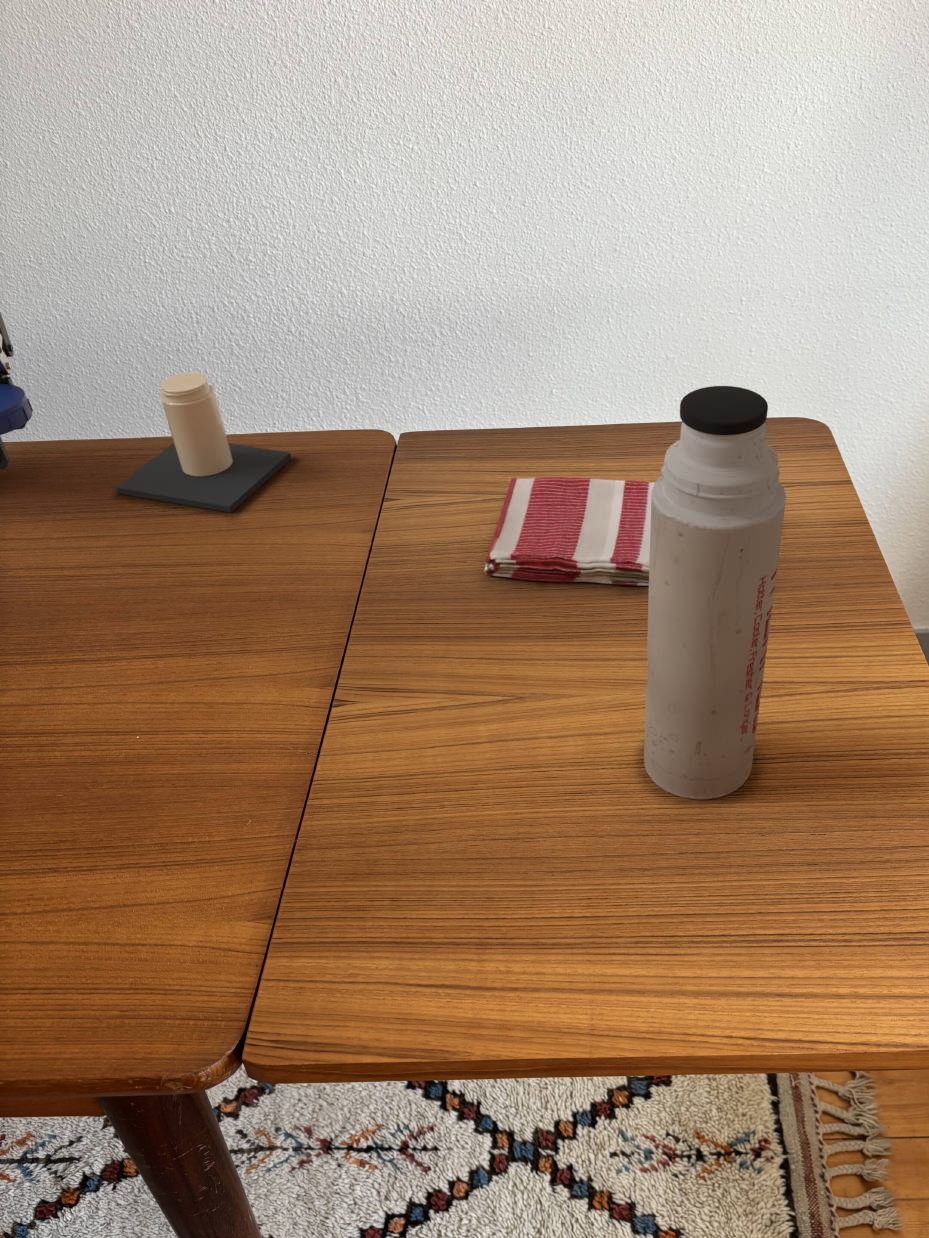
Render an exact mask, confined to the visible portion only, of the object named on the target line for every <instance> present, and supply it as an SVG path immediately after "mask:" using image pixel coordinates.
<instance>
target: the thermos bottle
mask: <svg viewBox="0 0 929 1238" xmlns="http://www.w3.org/2000/svg"><path fill="white" fill-rule="evenodd" d="M768 410H769V405H768V401H767V400H766V398H765V397H763V395H761V394H759V393H757V392H755V391H753V390H751V389H748V388H744V387H739V386H732V385H711V386H705V387H701V388H698V389H694V390H692V391H690V392H688V393H687V394H685V395H684V396H683V398H682V399H681V400H680V403H679V418H680V420H681V422H682V423H681V426H680V435H679V439H678V440H676V441H675V442H673V444H671V445H670V446H669V447H668V448H667V450H666V451H665V455H664V461H663V465H662V466H660V471H661V475H660V476H659V477H658V478H657V479H656V481H655V484H654V486H653V489H652V494H651V528H650V562H649V586H648V597H647V598H648V600H647V601H648V603H647V604H648V605H647V633H646V634H647V636H646V653H647V655H646V656H647V657H646V658H647V660H646V661H647V677H646V686H645V687H646V688H645V700H644V701H645V707H644V736H643V737H644V739H643V741H644V742H643V765H644V768H645V771H646V773H647V774H648V776H649V778H650V779H651V781H652V782H653V783H654V784H655V785H657V786H658V787H659V788H660V789H662V790H664V791H665V792H667V793H669V794H672V795H674V796H677V797H681V798H684V799H692V800H711V799H718V798H721V797H724V796H727V795H729V794H731V793H734V792H736V791H737V790H738V789H739V788H741V787H742V786H743V785H744V784H745V782H746V781H747V780H748V779H749V777H750V775H751V772H752V768H753V762H754V761H753V760H754V751H755V746H756V745H755V744H756V737H757V729H758V721H759V714H760V713H759V712H760V706H761V698H762V697H761V696H762V691H763V682H764V674H765V667H766V657H767V652H768V651H767V650H768V642H769V635H770V627H771V620H772V613H773V612H772V611H773V605H774V603H773V602H774V595H775V589H776V588H775V587H776V580H777V573H778V572H777V571H778V566H779V565H778V564H779V557H780V556H779V555H780V548H781V539H782V532H783V524H784V517H785V508H786V501H787V494H786V489H785V487H784V485H782V483H781V481H779V479H780V473H781V472H780V469H779V458H778V454H777V452H776V451H775V449H774V448H773V447H772V446H770V445H769V443H767V442H766V438H767V426H766V423H765V422H766V421H767V418H768V417H767V416H768Z"/></svg>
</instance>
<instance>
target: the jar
mask: <svg viewBox="0 0 929 1238" xmlns="http://www.w3.org/2000/svg"><path fill="white" fill-rule="evenodd" d="M159 400H160V403H161V406H162V409H163V412H164V416H165V419H166V422H167V426H168V428H169V431H170V435H171V438H172V442H173V443H174V445H175V448H176V452H177V455H178V458H179V461H180V465H181V468H182V470H183V472H184V473H186V474H188V475H191V476H210V475H214V474H217V473H220V472H222V471H224V470H226V469H227V468H229V467H230V466H231V465H232V462H233V458H232V454H231V451H230V447H229V440H228V436H227V432H226V429H225V424H224V422H223V418H222V414H221V411H220V407H219V403H218V399H217V396H216V392H215V388H214V387H213V386H212V385H211V384H209V381H208V377H207V376H206V375H205V374H203V373H200V372H188V371H187V372H181V373H176V374H173V375H170V376H168V377H166V378H164V379H162V381H161V383H160V396H159Z"/></svg>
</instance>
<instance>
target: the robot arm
mask: <svg viewBox="0 0 929 1238" xmlns="http://www.w3.org/2000/svg"><path fill="white" fill-rule="evenodd" d="M13 357H14V346H13V344H12V342H11V338H10V336H9V333H8V329H7V328H6V324H5V322H4V319H3V316H2V313H1V311H0V384H10V385H14V382H13V380H12V378H11V376H10V375H12V373H13V370H12V369H13V366H12V364H11V362H10V359H9V358H13ZM26 426H27V423H25V424H24V425H23V426H21V427H19V428H17V429H15V430H14V431H17V430H23V429H25V427H26ZM6 448H7V447H6V446H5V444H4V442H3V439H2V435H0V470H4V469H6V468H8V466H9V463H10V461H11V459H10V458H11V457H10V456H9V453H8V451H7V449H6Z"/></svg>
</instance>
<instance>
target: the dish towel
mask: <svg viewBox="0 0 929 1238" xmlns="http://www.w3.org/2000/svg"><path fill="white" fill-rule="evenodd" d="M655 482H656V481H655ZM655 482H651V481H643V480H631V479H630V480H629V479H627V480H622V479H621V480H619V479H604V478H592V477H591V478H590V477H566V476H543V477H532V478H529V477H528V478H517V477H516V478H515V477H513V478H512V477H511V478H509V483H508V485H507V488H506V491H505V492H506V493H505V497H504V499H503V504H502V506H501V511H500V513H499V517H498V520H497V524H496V527H495V530H494V533H493V537H492V540H491V542H490V544H489V547H488V550H487V555H486V558H485V567H484V570H483V572H484V574H485V575H486V576H490V577H500V578H511V579H517V580H525V581H526V580H527V581H539V582H552V583H576V582H577V583H578V582H579V583H581V582H582V583H583V582H585V583H595V584H605V585H607V584H608V585H621V586H630V587H631V586H634V587H635V586H636V587H637V586H640V587H641V586H643V587H644V586H645V587H649V562H650V528H651V494H652V489H653V486H654V484H655Z"/></svg>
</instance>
